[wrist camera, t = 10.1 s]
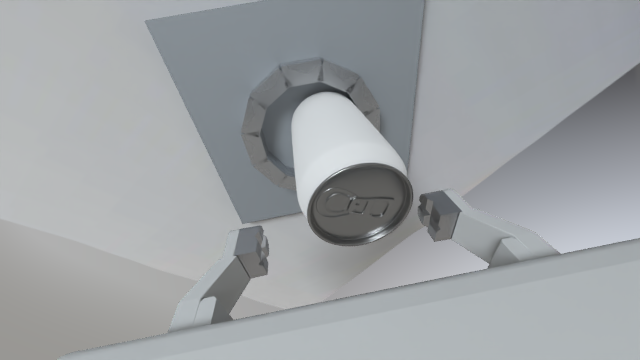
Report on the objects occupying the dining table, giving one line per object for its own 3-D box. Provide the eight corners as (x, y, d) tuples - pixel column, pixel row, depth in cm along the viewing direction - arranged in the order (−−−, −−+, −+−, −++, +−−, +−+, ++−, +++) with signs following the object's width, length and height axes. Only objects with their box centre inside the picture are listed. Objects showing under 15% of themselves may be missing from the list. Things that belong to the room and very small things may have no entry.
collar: (372, 46, 18) (380, 48, 17) (373, 170, 25) (379, 179, 24) (225, 73, 18) (219, 77, 17) (266, 191, 25) (265, 201, 23)
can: (297, 82, 19) (315, 144, 9) (368, 98, 21) (445, 166, 11) (285, 150, 22) (288, 248, 13) (346, 160, 24) (391, 253, 14)
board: (418, -25, 17) (427, -28, 16) (401, 185, 29) (405, 191, 28) (152, 20, 17) (144, 20, 16) (244, 216, 28) (242, 223, 27)
